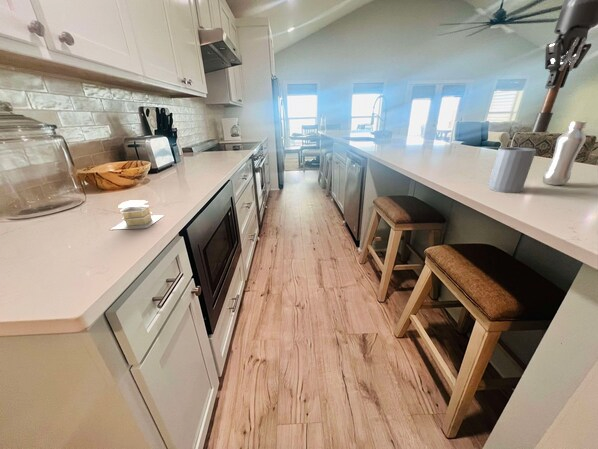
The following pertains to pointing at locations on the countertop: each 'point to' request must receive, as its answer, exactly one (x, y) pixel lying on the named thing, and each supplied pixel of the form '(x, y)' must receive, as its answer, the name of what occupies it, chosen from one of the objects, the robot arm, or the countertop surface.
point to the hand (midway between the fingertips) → (554, 87)
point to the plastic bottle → (565, 154)
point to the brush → (547, 107)
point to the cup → (511, 169)
